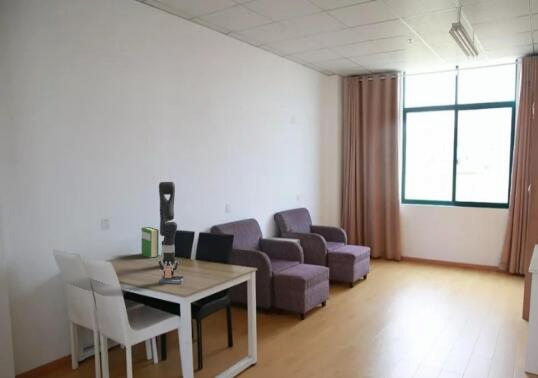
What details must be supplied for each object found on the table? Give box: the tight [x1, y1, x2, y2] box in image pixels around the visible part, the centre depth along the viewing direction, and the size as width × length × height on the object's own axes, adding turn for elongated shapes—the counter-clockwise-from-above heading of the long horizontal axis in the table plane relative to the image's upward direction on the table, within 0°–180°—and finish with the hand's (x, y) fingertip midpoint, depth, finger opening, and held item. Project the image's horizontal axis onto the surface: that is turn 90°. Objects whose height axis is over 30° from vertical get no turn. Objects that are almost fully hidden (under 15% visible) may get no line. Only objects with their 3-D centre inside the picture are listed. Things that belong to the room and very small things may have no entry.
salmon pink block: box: [164, 266, 172, 278], centre depth 269 cm, size 4×4×7 cm
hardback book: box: [141, 226, 160, 259], centre depth 343 cm, size 18×7×24 cm, turn 42°
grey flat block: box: [158, 275, 185, 285], centre depth 269 cm, size 8×15×3 cm, turn 90°
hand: (168, 275), depth 269 cm, fingers closed on salmon pink block, 4 cm apart
